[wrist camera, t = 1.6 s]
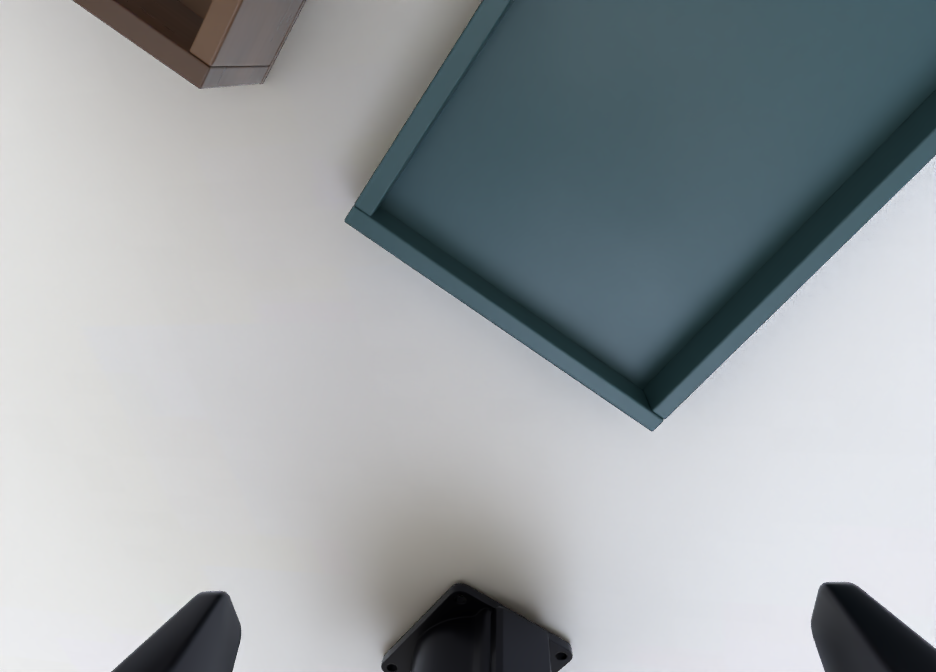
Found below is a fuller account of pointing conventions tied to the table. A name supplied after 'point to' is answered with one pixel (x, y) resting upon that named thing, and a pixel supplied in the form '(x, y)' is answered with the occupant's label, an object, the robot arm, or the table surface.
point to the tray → (652, 171)
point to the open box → (204, 35)
